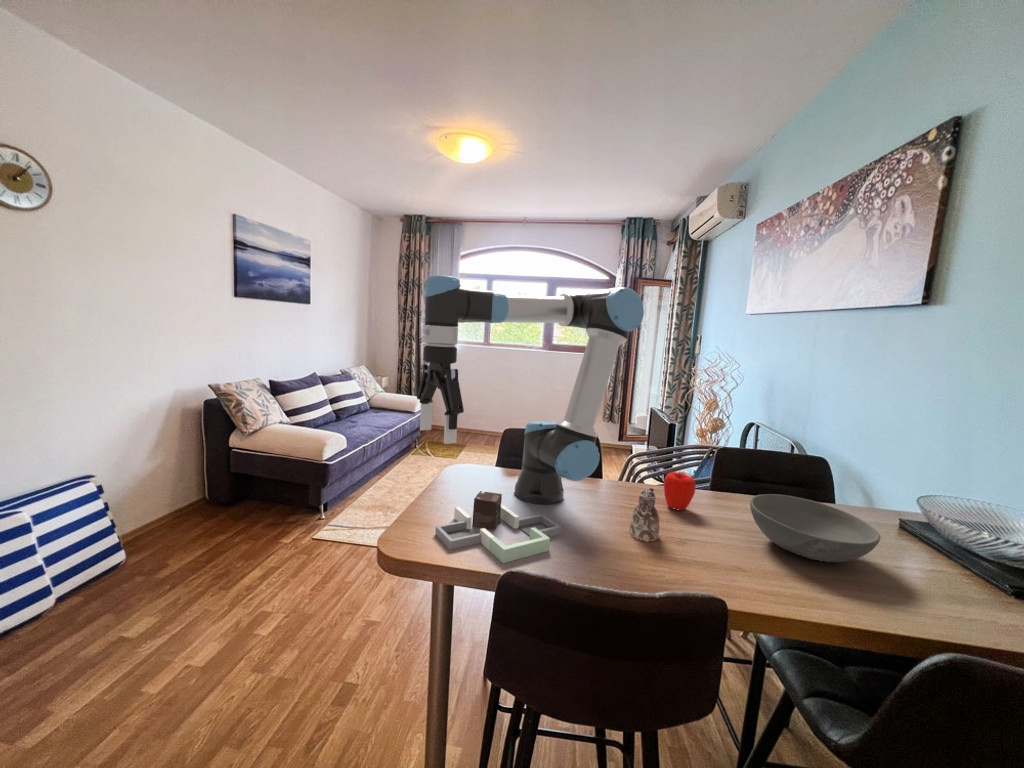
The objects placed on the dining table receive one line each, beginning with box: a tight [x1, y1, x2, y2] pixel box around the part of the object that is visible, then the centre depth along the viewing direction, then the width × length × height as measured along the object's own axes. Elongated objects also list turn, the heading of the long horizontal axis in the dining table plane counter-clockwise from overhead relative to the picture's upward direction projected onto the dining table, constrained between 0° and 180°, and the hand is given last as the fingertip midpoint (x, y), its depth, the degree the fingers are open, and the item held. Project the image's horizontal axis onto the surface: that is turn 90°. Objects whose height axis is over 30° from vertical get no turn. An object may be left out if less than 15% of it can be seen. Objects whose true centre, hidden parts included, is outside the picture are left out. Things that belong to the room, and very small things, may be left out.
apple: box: [663, 471, 696, 511], centre depth 127 cm, size 9×9×11 cm
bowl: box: [749, 493, 881, 563], centre depth 105 cm, size 26×26×10 cm
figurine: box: [629, 487, 660, 541], centre depth 107 cm, size 7×7×12 cm
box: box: [471, 490, 503, 531], centre depth 106 cm, size 6×6×7 cm
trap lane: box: [434, 503, 562, 564], centre depth 102 cm, size 28×24×3 cm
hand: (437, 436), depth 98 cm, fingers open, 13 cm apart
